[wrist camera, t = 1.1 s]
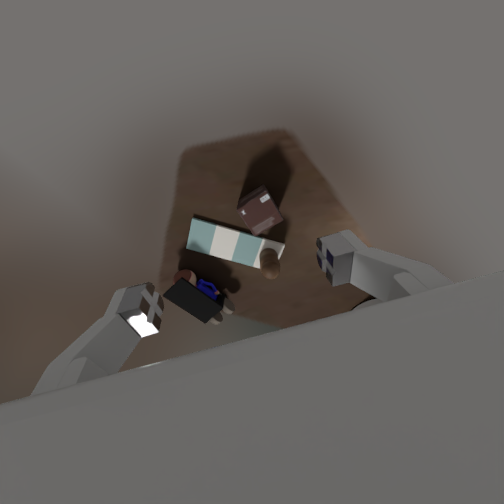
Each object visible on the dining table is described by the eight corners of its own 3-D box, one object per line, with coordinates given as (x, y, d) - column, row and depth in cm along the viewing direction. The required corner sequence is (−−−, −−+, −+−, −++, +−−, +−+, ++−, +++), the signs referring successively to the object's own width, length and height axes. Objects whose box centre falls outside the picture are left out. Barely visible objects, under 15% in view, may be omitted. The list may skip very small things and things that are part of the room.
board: (284, 243, 48) (284, 245, 47) (273, 270, 50) (273, 272, 50) (193, 217, 45) (192, 218, 44) (187, 247, 48) (186, 248, 47)
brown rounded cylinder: (280, 250, 47) (285, 268, 41) (273, 266, 49) (277, 285, 42) (262, 245, 47) (264, 263, 40) (256, 261, 48) (257, 280, 42)
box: (253, 224, 46) (254, 237, 39) (237, 199, 43) (235, 209, 37) (279, 209, 44) (284, 220, 38) (264, 183, 42) (266, 190, 35)
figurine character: (236, 292, 55) (187, 258, 49) (237, 315, 49) (180, 280, 42) (219, 307, 57) (169, 277, 51) (217, 331, 51) (160, 300, 44)
